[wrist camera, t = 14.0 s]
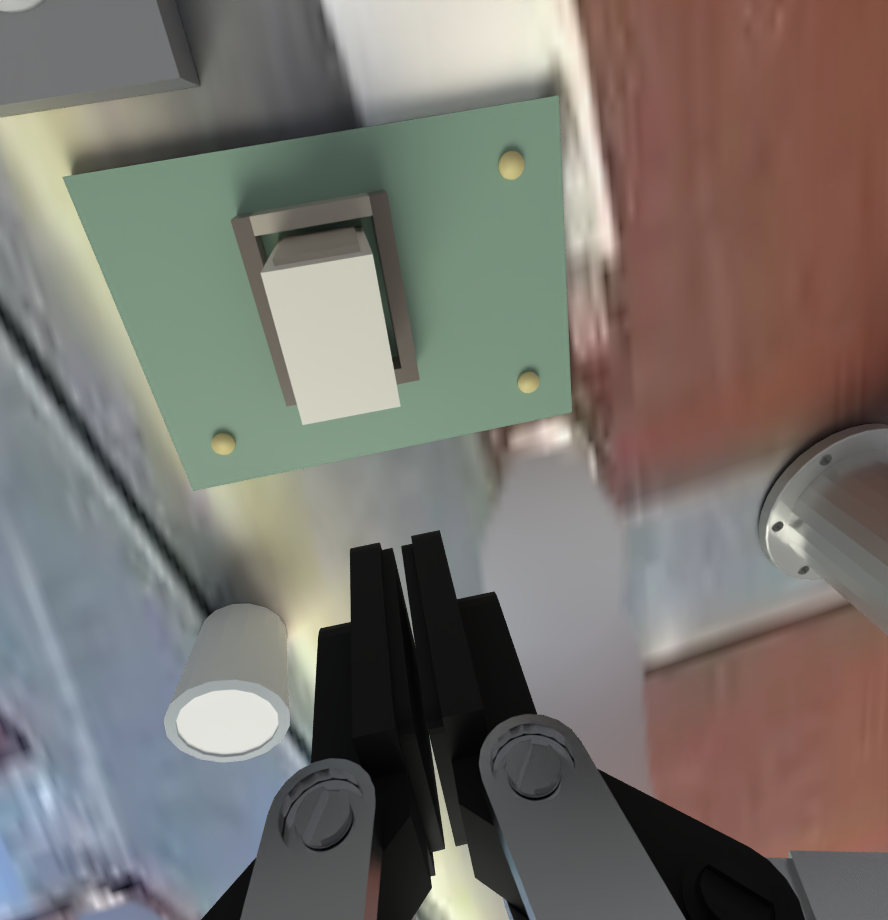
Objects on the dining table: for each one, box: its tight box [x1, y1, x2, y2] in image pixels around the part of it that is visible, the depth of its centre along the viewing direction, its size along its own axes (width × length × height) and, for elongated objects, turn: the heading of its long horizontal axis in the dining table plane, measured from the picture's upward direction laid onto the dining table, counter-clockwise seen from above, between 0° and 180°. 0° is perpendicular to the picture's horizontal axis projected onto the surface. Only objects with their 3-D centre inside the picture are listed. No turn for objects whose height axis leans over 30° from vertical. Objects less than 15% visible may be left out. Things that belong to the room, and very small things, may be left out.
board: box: [63, 95, 572, 491], centre depth 30 cm, size 22×16×1 cm
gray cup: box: [164, 603, 290, 762], centre depth 37 cm, size 7×7×7 cm
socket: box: [231, 190, 420, 407], centre depth 29 cm, size 7×9×2 cm
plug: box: [261, 225, 401, 425], centre depth 26 cm, size 4×6×8 cm, turn 8°
